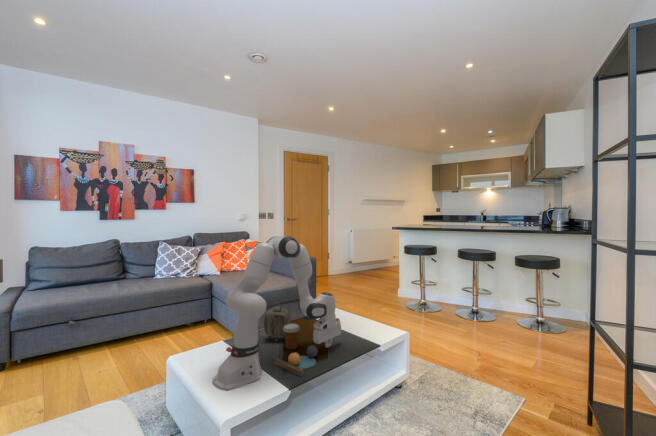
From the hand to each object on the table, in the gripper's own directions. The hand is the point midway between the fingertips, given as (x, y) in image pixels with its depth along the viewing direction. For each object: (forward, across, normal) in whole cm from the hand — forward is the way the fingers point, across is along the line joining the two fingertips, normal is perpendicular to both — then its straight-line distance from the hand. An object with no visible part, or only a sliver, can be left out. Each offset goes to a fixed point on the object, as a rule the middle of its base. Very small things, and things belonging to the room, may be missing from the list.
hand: (328, 346), depth 174 cm
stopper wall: (+2, +30, 0) cm, 30 cm away
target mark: (+2, +20, 0) cm, 20 cm away
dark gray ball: (-1, +12, 0) cm, 13 cm away
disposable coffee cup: (+2, +11, -18) cm, 21 cm away
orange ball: (-2, +25, -1) cm, 25 cm away
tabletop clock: (+2, +10, -32) cm, 34 cm away
